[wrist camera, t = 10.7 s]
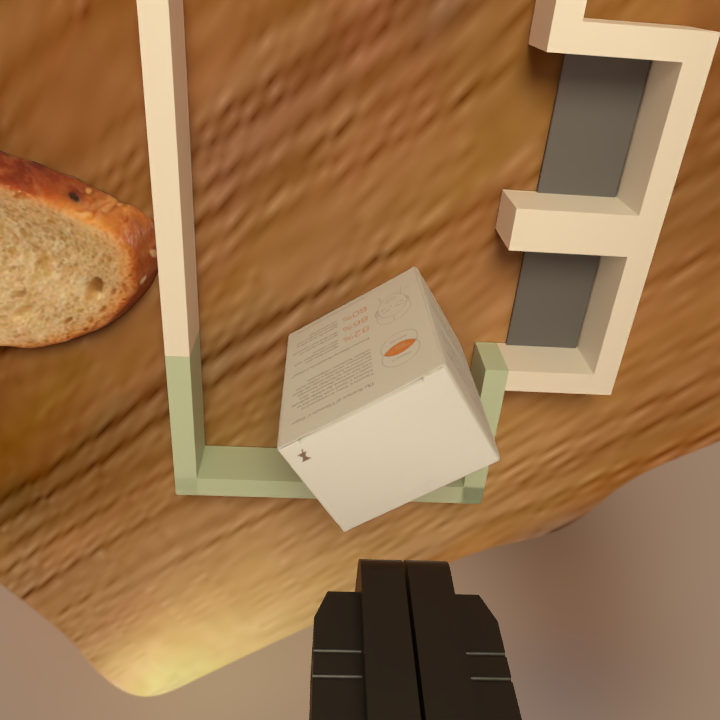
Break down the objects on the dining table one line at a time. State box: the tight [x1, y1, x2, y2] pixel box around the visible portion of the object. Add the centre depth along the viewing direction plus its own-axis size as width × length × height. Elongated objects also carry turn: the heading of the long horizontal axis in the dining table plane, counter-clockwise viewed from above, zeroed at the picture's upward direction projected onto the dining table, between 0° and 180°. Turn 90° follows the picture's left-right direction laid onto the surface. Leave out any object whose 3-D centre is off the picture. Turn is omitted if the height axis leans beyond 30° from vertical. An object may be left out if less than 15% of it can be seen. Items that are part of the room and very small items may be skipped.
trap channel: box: [137, 0, 720, 504], centre depth 34 cm, size 26×23×3 cm
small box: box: [277, 267, 500, 532], centre depth 33 cm, size 8×6×10 cm
